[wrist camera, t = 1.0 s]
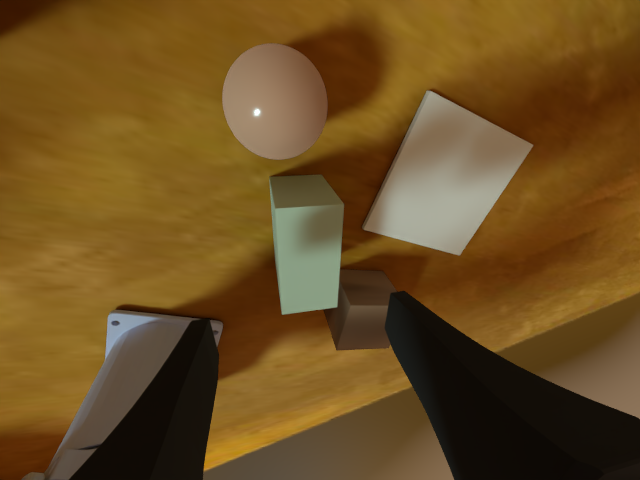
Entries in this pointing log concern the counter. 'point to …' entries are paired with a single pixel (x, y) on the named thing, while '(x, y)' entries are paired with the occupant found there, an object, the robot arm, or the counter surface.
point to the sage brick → (306, 241)
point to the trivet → (445, 177)
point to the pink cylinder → (275, 101)
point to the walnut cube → (360, 310)
